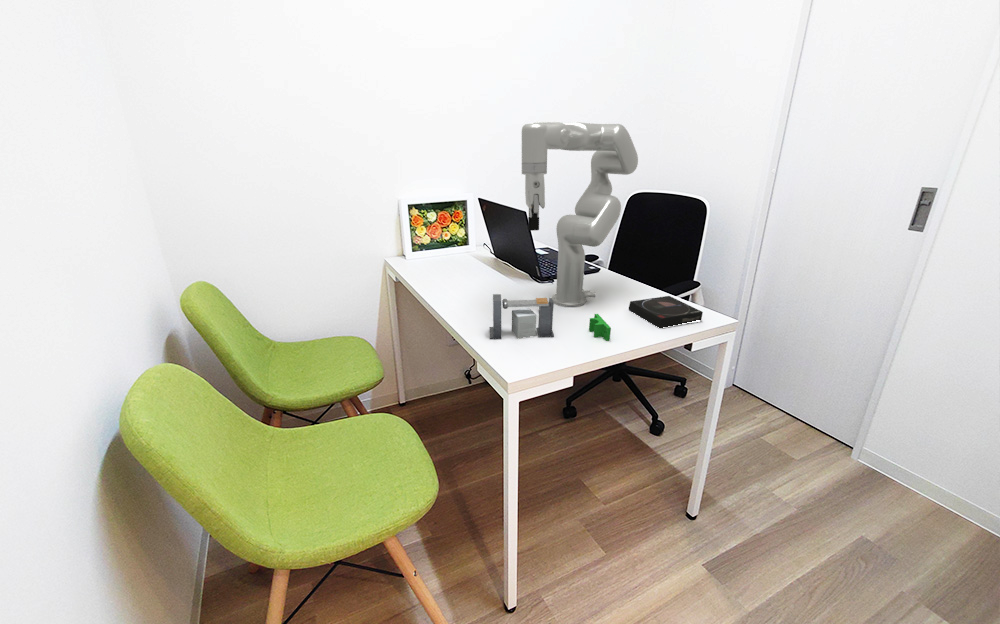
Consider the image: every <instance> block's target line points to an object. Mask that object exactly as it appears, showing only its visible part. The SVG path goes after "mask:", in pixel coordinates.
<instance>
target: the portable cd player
mask: <svg viewBox="0 0 1000 624" xmlns="http://www.w3.org/2000/svg"><path fill="white" fill-rule="evenodd" d="M628 311H629V312H631V313H632V312H633V313H632V314H634V313H635V314H634V315H636V316H637V315H638V317H639V316H640V317H639V318H641V319H642V318H643V320H644V319H645V321H646V320H647V321H648V323H649V322H650V323H649V324H651V323H652V324H651V325H653V326H654V325H655V327H656V326H657V327H656V328H658V327H659V328H662V329H664V328H663V327H668V326H673V325H678V324H682V323H687V322H692V321H696V320H701V321H702V317H703V313H704V312H703V311H701V310H700V309H697V308H695V307H693V306H691V305H689V304H687V303H686V302H683V301H682V300H680V299H677V298H674V297H673V296H671V295H665V296H660V297H658V296H657V297H651V298H645V299H637V300H631V301H629V305H628ZM647 321H646V322H647ZM659 328H658V329H659ZM668 328H669V327H668Z"/></svg>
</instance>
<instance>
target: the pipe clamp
mask: <svg viewBox="0 0 1000 624" xmlns="http://www.w3.org/2000/svg"><path fill="white" fill-rule="evenodd" d="M611 331H612V328H611V326H610V325H609V324H608V323H607V322H606V321H605V320H604V319H603V317H601V315H600V314H599V313H594V317H590V318H589V325H588V332H592V333H593V337H594V338H603V340H604V341H605V342H610V341H611Z"/></svg>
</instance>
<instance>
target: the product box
mask: <svg viewBox="0 0 1000 624" xmlns="http://www.w3.org/2000/svg"><path fill="white" fill-rule="evenodd" d="M536 328H537V314H536V313H535V312H534V310H532V309H531V307H523V308H518V309H512V310H511V332H512V333H513V334H514V336H516V338H517V339H518V338H519V339H524V338H523V337H526V338H531V337H530V336H533V337H536V334H537V330H536Z"/></svg>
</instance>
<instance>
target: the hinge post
mask: <svg viewBox="0 0 1000 624" xmlns="http://www.w3.org/2000/svg"><path fill="white" fill-rule="evenodd" d="M492 298H493V299H492V316H493V319H492V321H493V323H492V324H493V325H492V326H489V340H502V295H501V294H499V293H495V294H492Z"/></svg>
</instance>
